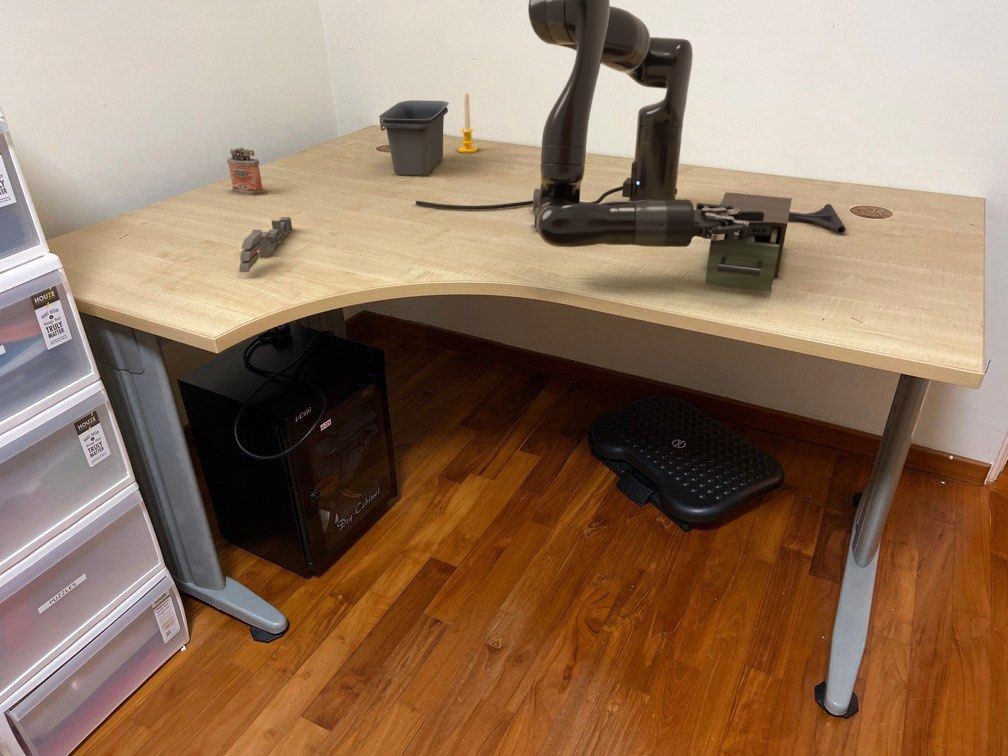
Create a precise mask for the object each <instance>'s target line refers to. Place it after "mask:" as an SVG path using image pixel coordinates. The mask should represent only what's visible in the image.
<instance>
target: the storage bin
mask: <svg viewBox="0 0 1008 756" xmlns="http://www.w3.org/2000/svg"><path fill="white" fill-rule="evenodd" d="M449 105H450V103H449V102H448V101H443V100H421V99H420V100H417V99H416V100H415V99H413V100H412V99H411V100H404V101H403V100H402V101H399V102H397V103H396V104H394V105H392V106H391V107H390V108H387V110H385V111H384V112H383V113H380V115H378V118H379V126H380V131H382V132H383V131H385V130H386V135H387V140H388V145H389V151H390V156H391V162H392V168H393V172H394V174H396V175H398V176H423V177H424V176H428V175H429V173H430V172H431V171H432V170H433V169H434V168H436V166H437V165H438V163H440V162H441V161H442V159H443V158H444V121H445V115H446V114H447V113H449V109H448V106H449Z"/></svg>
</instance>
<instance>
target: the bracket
mask: <svg viewBox="0 0 1008 756" xmlns="http://www.w3.org/2000/svg"><path fill="white" fill-rule="evenodd" d="M788 222H795V223H815V224H819V225H822V226H824V227H827V228H828V229H830V230H833V231H835V232H836V233H837V234H838V235H844V233H846V227H845V225H844V224H843V222H842V220H841V219H840V217H839V215H838V213H837V212H836V211H835V209H834V207H833V206H832V204H830V203H827V204H825V205H824V206H823V207H822V208H821V209H819V210H817V211H813V212H811V213H810V212H809V213H801V212H800V213H799V212H794V211H790V212H789V218H788Z"/></svg>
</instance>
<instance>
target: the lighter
mask: <svg viewBox="0 0 1008 756" xmlns="http://www.w3.org/2000/svg"><path fill="white" fill-rule="evenodd" d="M229 153H230V155H231V157H228V158H226V162H227V164H228V169H229V175H230V179H231V185H232V192H233V193H235V194H240V195H247V196H261V195H264V193H265V190H264V188H263V183H262V182H263V181H262V176H261V172H260V166H259V164H260V160H259V159H257V158H252V157H254V156H255V151H254V150H253V149H252V148H251V149H249V148H244V147H241V146H240V147H237V148H230V149H229Z"/></svg>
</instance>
